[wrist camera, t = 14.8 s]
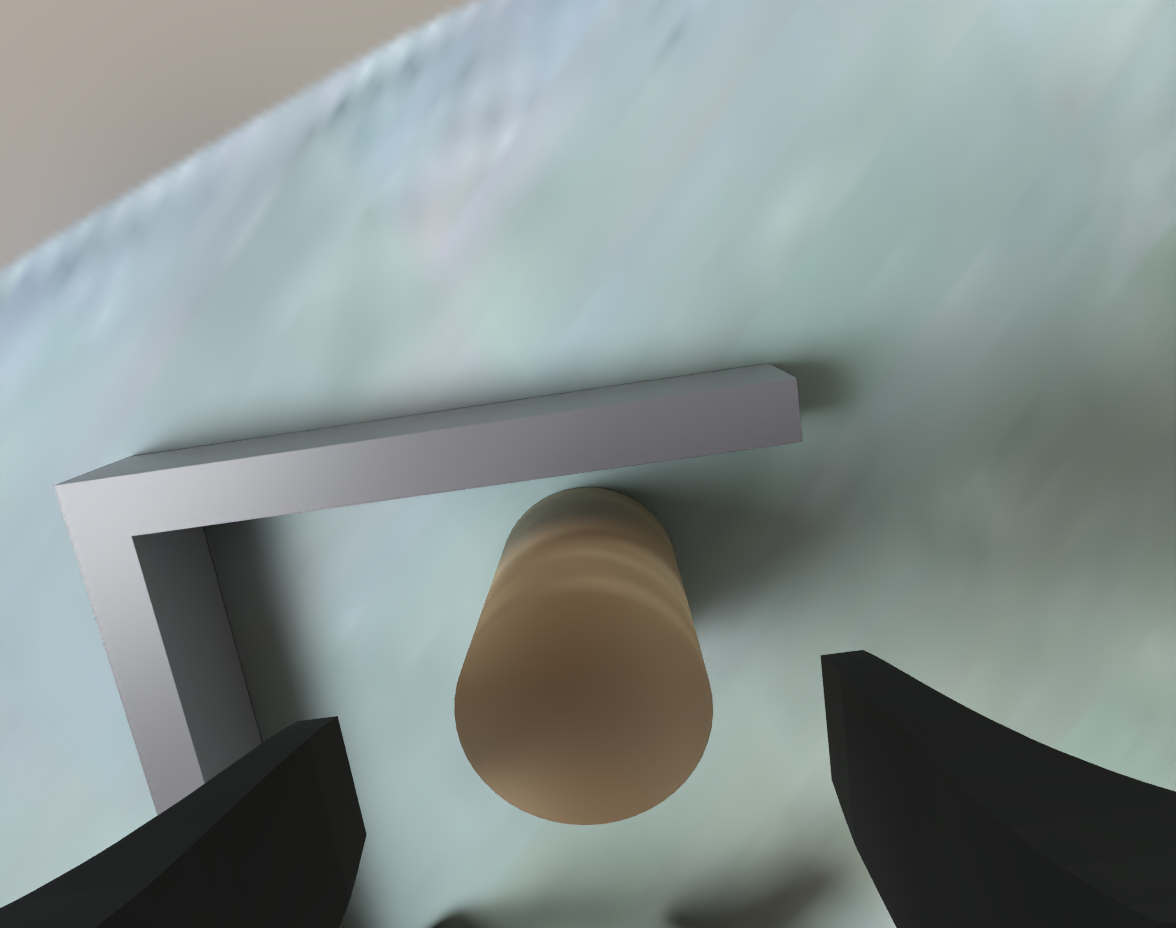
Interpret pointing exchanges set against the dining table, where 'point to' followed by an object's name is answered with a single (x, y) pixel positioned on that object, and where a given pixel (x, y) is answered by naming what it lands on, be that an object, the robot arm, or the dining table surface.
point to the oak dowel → (585, 665)
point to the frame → (334, 479)
